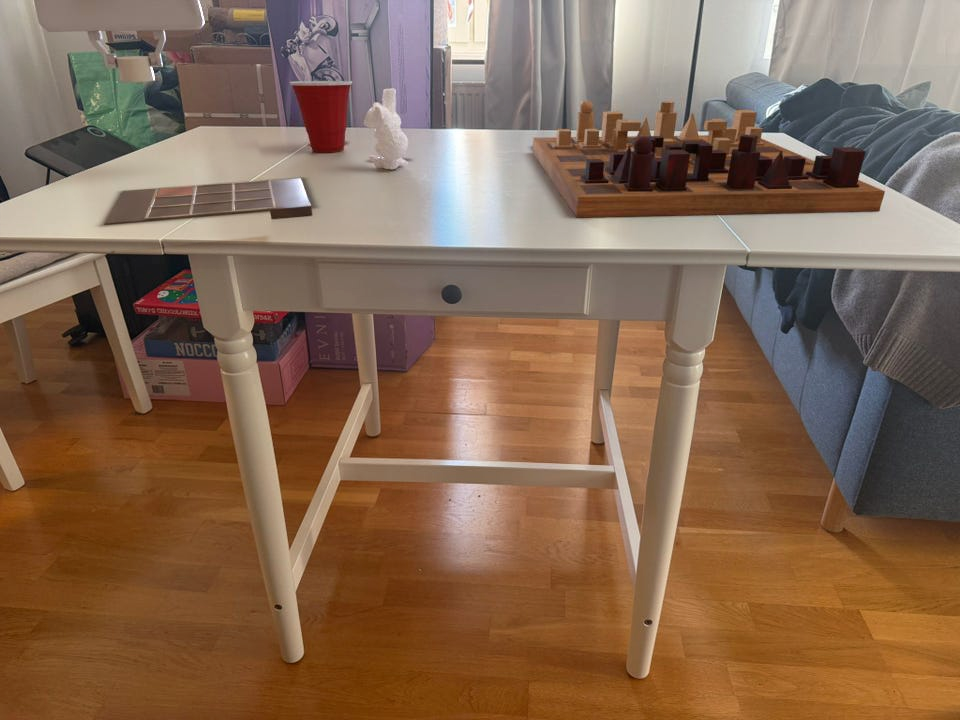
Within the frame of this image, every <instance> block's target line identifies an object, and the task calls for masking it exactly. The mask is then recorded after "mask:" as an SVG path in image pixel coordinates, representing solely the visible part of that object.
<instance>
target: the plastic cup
mask: <svg viewBox="0 0 960 720" xmlns="http://www.w3.org/2000/svg"><path fill="white" fill-rule="evenodd" d="M289 84H290V86H291V87H292V88H293V91H294V94H295V97H296V100H297V102H298V106H299V109H300V113H301V116H302V120H303V124H304V128H305V132H306V134H307V136H308V140H309V145H310V147H311V150H312V152H314V153H320V154H321V153H322V154H323V153H324V154H326V153H328V154H329V153H337V152H342V151H343V150H345V144H346V131H347V120H348V118H347V117H348V104H349V103H348V101H349V97H350V96H349V95H350V89H351V85H352V84H353V81H352V80H308V81H307V80H305V81H303V80H302V81H289Z"/></svg>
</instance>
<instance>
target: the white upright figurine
mask: <svg viewBox="0 0 960 720" xmlns="http://www.w3.org/2000/svg"><path fill="white" fill-rule="evenodd" d="M396 95H397V89H396V88H395V87H393V88H391V87H390V88H384V89H383V91H382V97H381V98H382V99H381V100H382V103H380V102H378V101H377V102H376V101H375V102H373V104H372V106H371V108H369V109H368V110H367V111H366V114H365V118H364V120H363V122H362V123H363V125H364V126H365V127H367V129H375V130H374V133H373V135H374V138H375V139H376V140H378V141H377V144H376V145H375V148H374V149H375V152H376V154H377V155H379V156H377V155H375V154H370V155H369V156H368V160H370V162H371V163H373V164H374V166H375V168H378V169H384V170H391V171H393V170H396V169H398V168H399V167H402V166H407V165H408V164H409V162H408V161H407V160H405V159H403V158H404V157H405V155H406V153H407V150H408V147H409V146H408V145H409V138H408V136H407V135H406V134H405V133H404V132H403V129H402V127H401V125H402V119H401V117H400V115H399V114H398V113H397V97H396Z"/></svg>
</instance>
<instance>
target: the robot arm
mask: <svg viewBox="0 0 960 720" xmlns="http://www.w3.org/2000/svg"><path fill="white" fill-rule="evenodd" d="M33 1H34V2H33V3H34V8H35V14H36V17H37V22H38V24H39V25H40V27H42V29H44V30H45V31H47V33H49V32H50V33H55V32H56V33H58V32H59V33H61V32H62V33H63V32H69V33H70V32H87V35H88V39H89V42H90V43H91V44H92V46H93V47H94V48H95V49H96V51H98V53H99V54H100V55H101V56H102V60H103V63H104V67H105V69H118V67H117V63H116V59H115V58H117V57H118V56H117V54H116V53H110V52H109V51H108V50H107V48H106V47H105V46H104V44H102V42H101V41H103V39H104V37H103V32H130V31H133V32H135V31H136V32H137V31H138V32H139V31H140V32H141V31H142V32H143V31H152V36H153V39H154V40H156V41H157V40H158V41H157V45H156V47H155V50H154V52H148V54H147V55H148V56H149V59H150V60H151V62H150V64H151V67H152V68H164V63H163V58H162V54H161V53H162V52H163V49H164V46H165V43H166V40H167V36H166V31H199V30H201V29H202V28H203V27H204V25H205V17H204V13H203V9H202V6H201V1H200V0H33Z"/></svg>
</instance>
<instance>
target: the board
mask: <svg viewBox="0 0 960 720" xmlns="http://www.w3.org/2000/svg"><path fill="white" fill-rule="evenodd" d="M264 212H269V214H270V219H272V220H273V219H274V220H275V219H285V218H294V217H296V218H297V217H308V216H313V209H312V204H311V202H310V199H309V197H308V194H307V191H306V188H305V186H304V183H303V180H302V178H301V177H295V178H294V177H293V178H281V179H264V180H251V181H250V180H249V181H238V182H223V183H209V184H195V185H181V186H170V187H157V188H156V187H155V188H145V189H143V188H142V189H130V190H122V191H121V193H120V195H119V197H118V199H117V201H116V202H115V203H114V206H113V208H112V209H111V211H110V213H109V215H108V217H106V220H105V221H104V223H103V225H104V226H110V225H111V226H112V225H122V224H135V223H146V222H157V221H168V220H169V221H170V220H181V219H194V218H204V217H205V218H206V217H217V216H227V215H240V214H241V215H242V214H251V213H264Z"/></svg>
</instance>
